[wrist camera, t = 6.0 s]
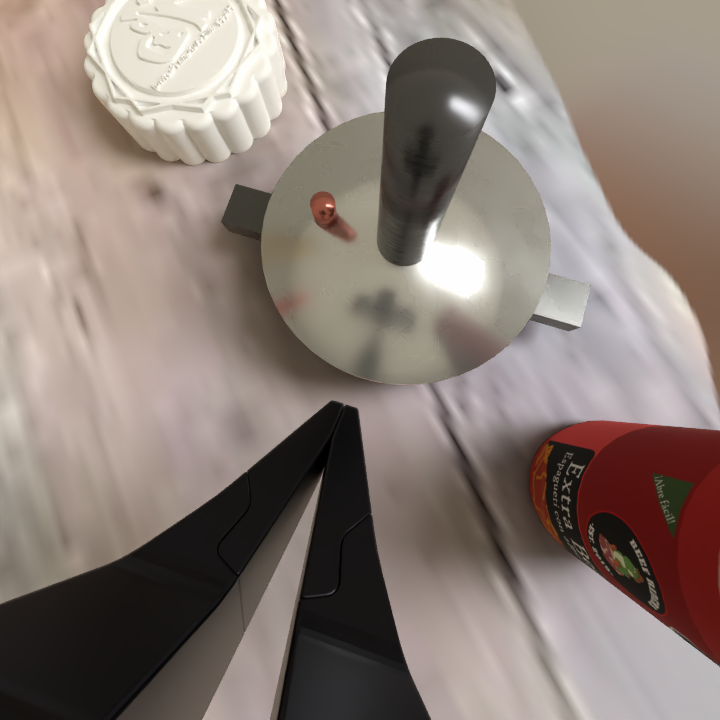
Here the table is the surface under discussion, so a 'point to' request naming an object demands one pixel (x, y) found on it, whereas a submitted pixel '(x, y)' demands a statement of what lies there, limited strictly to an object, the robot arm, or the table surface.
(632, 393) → the table surface
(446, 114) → the cooker lid
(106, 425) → the table surface
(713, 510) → the canned food
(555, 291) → the cooker pot
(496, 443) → the table surface
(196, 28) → the mooncake
